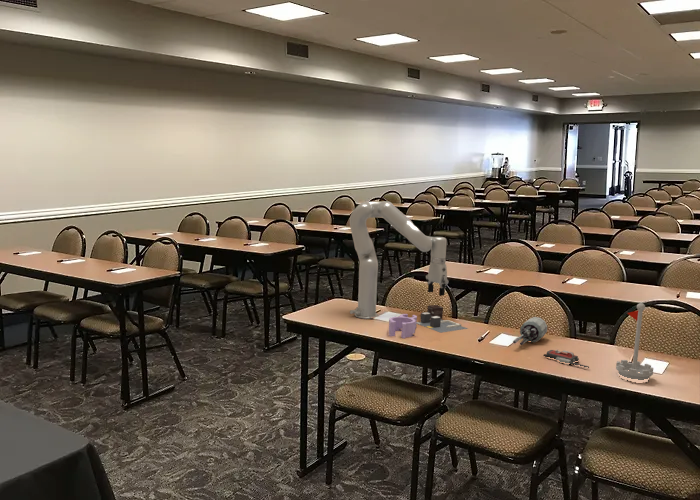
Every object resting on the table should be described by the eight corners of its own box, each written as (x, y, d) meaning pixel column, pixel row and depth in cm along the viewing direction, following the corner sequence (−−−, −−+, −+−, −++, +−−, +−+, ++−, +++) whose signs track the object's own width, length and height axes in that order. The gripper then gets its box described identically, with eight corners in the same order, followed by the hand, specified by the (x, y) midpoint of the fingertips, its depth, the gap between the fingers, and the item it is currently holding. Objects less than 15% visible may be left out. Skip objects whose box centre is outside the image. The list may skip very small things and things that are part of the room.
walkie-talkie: (540, 359, 252) (587, 371, 238) (541, 349, 251) (588, 361, 238) (549, 355, 258) (595, 367, 244) (550, 345, 257) (597, 356, 244)
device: (526, 334, 289) (527, 314, 287) (547, 338, 284) (548, 318, 282) (507, 350, 263) (509, 328, 261) (530, 354, 258) (532, 332, 256)
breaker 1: (424, 323, 298) (424, 314, 297) (420, 321, 300) (420, 312, 300) (430, 322, 300) (430, 313, 300) (426, 320, 303) (426, 312, 302)
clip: (397, 326, 296) (398, 312, 295) (421, 329, 291) (422, 316, 290) (383, 335, 278) (384, 321, 277) (409, 339, 273) (410, 325, 272)
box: (426, 318, 312) (427, 305, 311) (436, 318, 315) (436, 304, 314) (432, 321, 307) (433, 307, 306) (442, 320, 310) (443, 307, 309)
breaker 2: (434, 327, 290) (434, 318, 290) (430, 325, 293) (430, 316, 292) (440, 326, 293) (440, 317, 292) (436, 324, 295) (436, 315, 295)
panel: (440, 335, 282) (440, 331, 282) (414, 325, 298) (414, 321, 298) (468, 330, 292) (468, 326, 291) (441, 321, 308) (441, 317, 308)
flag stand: (658, 380, 230) (667, 305, 226) (640, 386, 222) (649, 308, 218) (626, 370, 240) (634, 298, 236) (608, 376, 233) (616, 301, 229)
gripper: (454, 263, 302) (452, 296, 304) (432, 258, 316) (430, 290, 318) (443, 263, 298) (441, 297, 300) (421, 258, 312) (419, 291, 314)
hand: (436, 293), depth 309 cm, fingers open, 8 cm apart
